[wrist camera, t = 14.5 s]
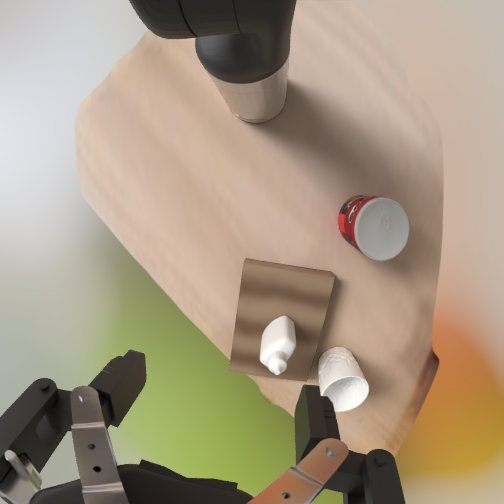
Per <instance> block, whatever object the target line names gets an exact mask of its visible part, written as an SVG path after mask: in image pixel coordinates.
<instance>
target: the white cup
mask: <svg viewBox="0 0 504 504" xmlns="http://www.w3.org/2000/svg"><path fill="white" fill-rule="evenodd" d="M318 369H319V384H320V393H321V396H328V397H329V399H330V400H331V401H332V403H333V405H334V410H335V412H343V411H348V410H351V409H353V408H355V407H357V406H359V405H360V404H361V403H362V402H363V401H364V400H365V399H366V397H367V396H368V393H369V385H368V383H367V381H366V379H365V377H364V375H363V373H362V371H361V369H360V367H359V365H358V363H357V361H356V360H355V359H354V357H353V355H352V353H351V351H349V350H348V349H346V348H343V347H335V348H331V349H328V350H327V351H326V352H324V353H323V354H322V355H321V357H320V359H319V363H318Z"/></svg>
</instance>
